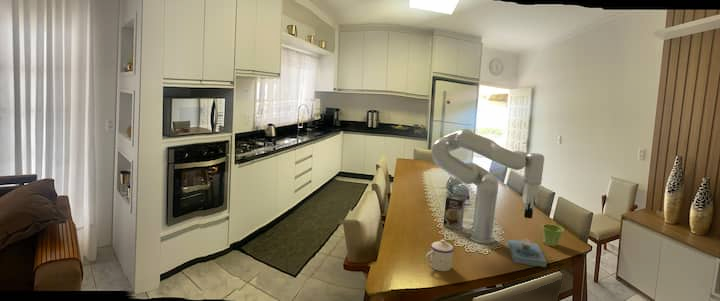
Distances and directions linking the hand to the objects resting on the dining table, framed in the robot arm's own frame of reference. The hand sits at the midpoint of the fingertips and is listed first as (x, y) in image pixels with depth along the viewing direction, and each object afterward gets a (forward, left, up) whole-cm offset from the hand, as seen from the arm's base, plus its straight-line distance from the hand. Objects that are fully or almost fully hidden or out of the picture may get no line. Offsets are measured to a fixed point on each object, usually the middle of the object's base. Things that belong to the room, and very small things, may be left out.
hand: (528, 217), depth 179 cm
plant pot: (+14, +9, -15) cm, 22 cm away
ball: (-1, -7, -10) cm, 13 cm away
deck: (-1, -9, -15) cm, 18 cm away
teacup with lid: (-39, -35, -15) cm, 55 cm away
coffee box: (-33, +15, -15) cm, 39 cm away
